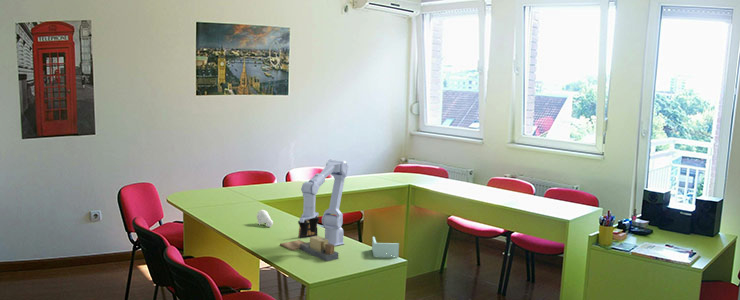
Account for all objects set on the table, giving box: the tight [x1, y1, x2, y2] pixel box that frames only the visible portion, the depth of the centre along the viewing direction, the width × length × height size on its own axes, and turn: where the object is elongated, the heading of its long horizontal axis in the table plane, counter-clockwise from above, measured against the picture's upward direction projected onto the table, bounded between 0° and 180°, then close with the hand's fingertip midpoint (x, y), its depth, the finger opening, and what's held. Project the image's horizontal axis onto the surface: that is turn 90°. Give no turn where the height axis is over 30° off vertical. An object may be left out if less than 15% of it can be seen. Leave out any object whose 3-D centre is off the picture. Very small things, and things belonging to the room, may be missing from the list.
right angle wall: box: [371, 236, 400, 259], centre depth 283 cm, size 12×12×8 cm
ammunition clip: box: [297, 216, 318, 239], centre depth 306 cm, size 11×2×12 cm, turn 122°
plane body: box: [299, 241, 339, 262], centre depth 277 cm, size 7×22×7 cm, turn 42°
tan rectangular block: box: [309, 235, 328, 251], centre depth 277 cm, size 4×9×5 cm, turn 42°
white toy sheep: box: [256, 209, 274, 228], centre depth 327 cm, size 6×8×12 cm
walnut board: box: [279, 239, 306, 251], centre depth 290 cm, size 12×11×1 cm
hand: (308, 233), depth 276 cm, fingers open, 7 cm apart
